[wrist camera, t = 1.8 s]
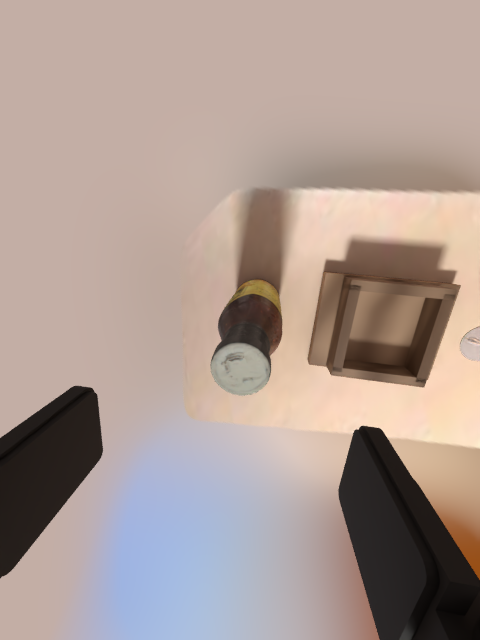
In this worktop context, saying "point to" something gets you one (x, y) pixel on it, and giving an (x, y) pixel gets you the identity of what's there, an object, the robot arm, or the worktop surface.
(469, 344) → the wineglass
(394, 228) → the worktop surface
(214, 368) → the sauce bottle
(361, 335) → the caddy
